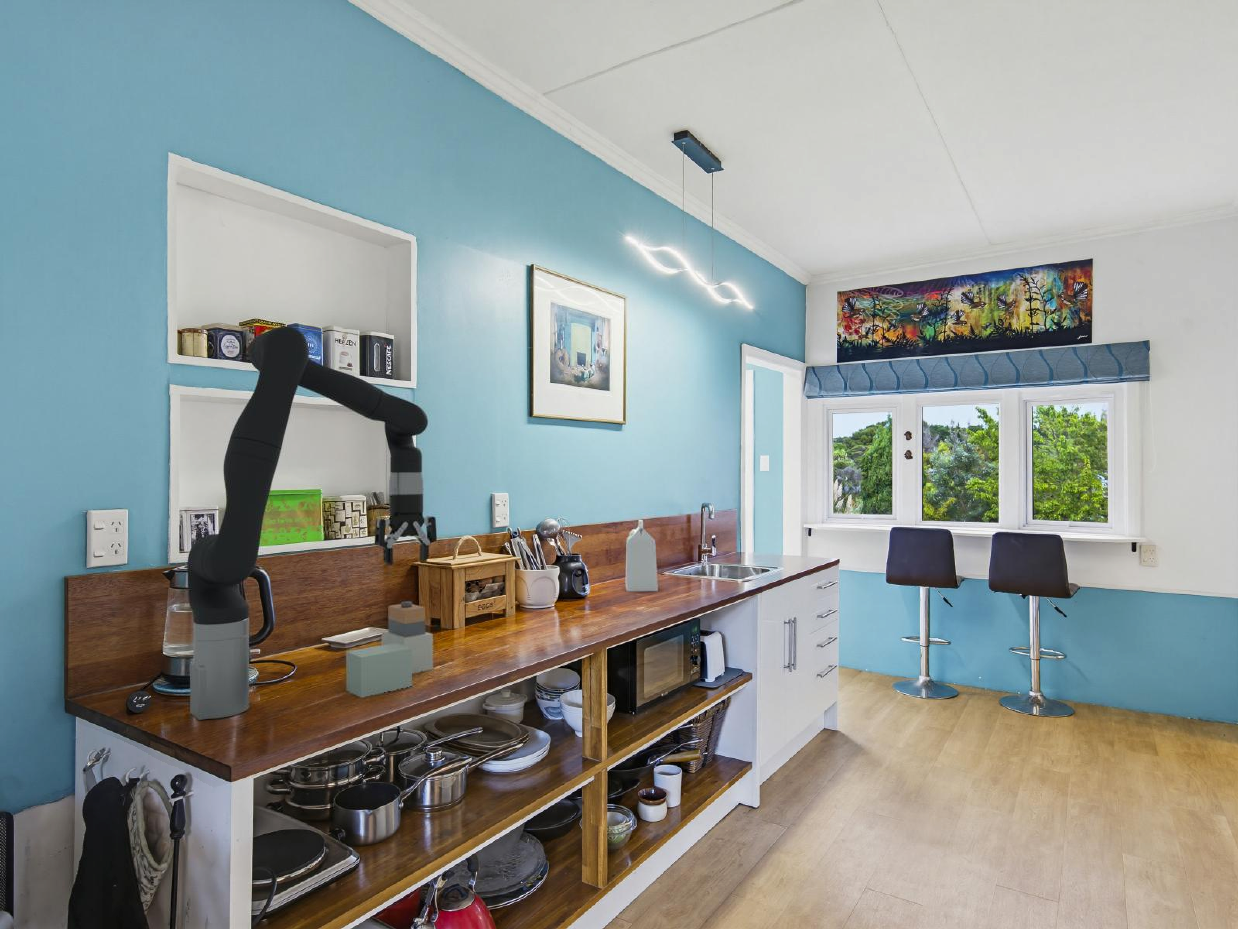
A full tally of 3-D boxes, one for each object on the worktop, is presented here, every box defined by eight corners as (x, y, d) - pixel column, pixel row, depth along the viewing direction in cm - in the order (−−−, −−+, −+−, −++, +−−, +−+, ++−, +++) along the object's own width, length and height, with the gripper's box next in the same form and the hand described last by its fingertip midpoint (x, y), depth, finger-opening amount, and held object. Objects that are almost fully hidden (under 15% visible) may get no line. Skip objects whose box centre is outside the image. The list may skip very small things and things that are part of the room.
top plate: (388, 618, 171) (388, 601, 171) (408, 615, 175) (408, 598, 175) (404, 623, 165) (404, 606, 165) (425, 620, 169) (425, 603, 169)
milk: (657, 591, 277) (657, 521, 277) (627, 591, 276) (626, 521, 276) (654, 586, 289) (654, 519, 289) (625, 586, 288) (624, 519, 288)
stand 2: (404, 675, 164) (404, 639, 164) (381, 666, 172) (381, 631, 172) (432, 669, 168) (432, 634, 168) (409, 660, 176) (409, 627, 176)
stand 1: (361, 697, 147) (361, 657, 147) (346, 690, 152) (346, 651, 153) (412, 686, 155) (411, 648, 155) (396, 679, 160) (396, 642, 160)
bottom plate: (388, 631, 171) (388, 618, 171) (408, 628, 175) (408, 615, 175) (405, 637, 165) (405, 623, 165) (425, 633, 169) (425, 620, 169)
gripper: (426, 491, 178) (426, 559, 178) (369, 492, 168) (369, 564, 168) (442, 492, 173) (442, 561, 172) (384, 493, 163) (384, 567, 163)
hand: (406, 563), depth 170 cm, fingers open, 8 cm apart
